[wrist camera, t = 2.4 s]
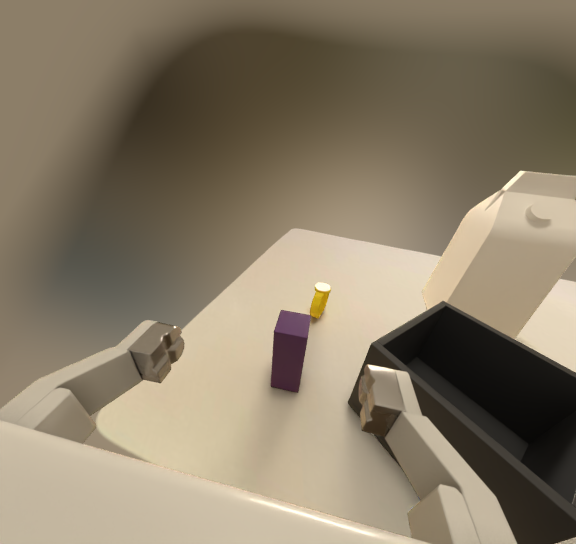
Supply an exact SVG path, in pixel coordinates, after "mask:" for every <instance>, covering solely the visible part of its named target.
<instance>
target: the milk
mask: <svg viewBox="0 0 576 544" xmlns="http://www.w3.org/2000/svg"><path fill="white" fill-rule="evenodd" d="M575 198H576V177H575V176H567V175H557V174H546V173H537V172H526V171H520V172H519V173H518V174H517V175H516V176H515V177H514V178H513V179H512V180H510V181H509V183H507V184H506V185H505V186H504V187H503V188H502V190H500V191H498V192H496V193H495V194H493V195H492V196H490V197H489V198H487V199H486V200H484V201H483V202H481V203H479V204H478V205H477V206H475V207H473V208H472V209H471V210H470V211H469V212H468V213H467V214H466V216H465V217H464V219H463V220H462V222H461V224H460V226H459V227H458V229H457V231H456V233H455V234H454V236H453V238H452V240H451V241H450V243H449V245H448V247H447V248H446V250H445V252H444V254H443V255H442V257H441V259H440V261H439V262H438V264H437V266H436V268H435V269H434V271H433V273H432V275H431V276H430V278H429V280H428V282H427V283H426V285H425V287H424V289H423V290H422V295H423V298H424V301H425V304H426V308H427V310H428V309H430V308H432V307H433V306H435V305H437V304H438V303H440V302H441V301H445V302H447V303H448V304H450V305H452V306H454V307H456V308H458V309H459V310H461V311H463V312H465V313H467V314H469V315H470V316H472V317H474V318H476V319H478V320H480V321H481V322H483V323H485V324H487V325H489V326H491V327H492V328H494V329H496V330H498V331H500V332H502V333H503V334H505V335H507V336H509V337H511V338H513V339H515V338H516V336H517V335H518V334H519V332H520V331H521V330H522V328H523V327H524V326H525V324H526V323H527V321H528V320H529V319H530V317H531V316H532V315H533V313H534V312H535V311H536V309H537V308H538V307H539V305H540V304H541V303H542V301H543V300H544V299H545V297H546V296H547V295H548V293H549V292H550V291H551V289H552V288H553V287H554V285H555V284H556V282H557V281H558V280H559V278H560V277H561V276H562V274H563V273H564V272H565V270H566V269H567V268H568V266H569V265H570V264H571V262H572V261H573V260H574V258H575V257H576V201H575V200H574V199H575Z"/></svg>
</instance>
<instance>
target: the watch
mask: <svg viewBox="0 0 576 544" xmlns="http://www.w3.org/2000/svg"><path fill="white" fill-rule="evenodd" d="M315 291H316V293H315V295H314V298H313V301H312V304H311V309H310V315H311V316H312V317H315V318H317V319H318V318H319V317H320V315H321V314H322V312H323V311H324V308H325V306H326V303H327V300H328V296H329V293H330V291H331V287H330V286H329V285H328V284H326V283H317V284H316V285H315Z"/></svg>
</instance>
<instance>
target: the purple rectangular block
mask: <svg viewBox="0 0 576 544" xmlns="http://www.w3.org/2000/svg"><path fill="white" fill-rule="evenodd" d="M310 318H311V315H306V314H301V313H295V312H290V311H285V310H281V312H280V315H279V318H278V321H277V324H276V327H275V330H274V341H273V358H272V375H271V387H275V388H279V389H284V390H288V391H293V392H297V393H298V391H299V385H300V379H301V374H302V368H303V362H304V356H305V350H306V345H307V339H308V332H309V325H310Z"/></svg>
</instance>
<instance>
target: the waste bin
mask: <svg viewBox="0 0 576 544" xmlns="http://www.w3.org/2000/svg"><path fill="white" fill-rule="evenodd" d="M367 364H369V365H375V366H380V367H385V368H391V369H394V370H399V371H404V372H407V373H408V374H409V376H410V379H411V382H412V385H413V388H414V392H415V395H416V398H417V401H418V404H419V407H420V410H421V413H422V416H425V417H427V418H428V419H429V420H430V421H431V422H432V424H433V425H434V426H435V427H436V428H437V429H438V430H439V432H440V433H441V434H442V435H443V436H444V437H445V439H446V440H447V441H448V442H449V443H450V444H451V445H452V447H453V448H454V449H455V450H456V451H457V452H458V454H459V455H460V456H461V457H462V458H463V459H464V460H465V462H466V463H467V464H468V465H469V466H470V467H471V469H472V470H473V471H474V472H475V473H476V474H477V475H478V477H479V478H480V479H481V480H482V481H483V482H484V484H485V485H486V486H487V487H488V488H489V489H490V490H491V492H492V493H493V494H494V495H495V496H496V498H497V500H498V502H499V504H500V507H501V509H502V511H503V513H504V515H505V518H506V520H507V522H508V524H509V526H510V529H511V531H512V533H513V535H514V538H515V540H516V542H517V544H555V543H558V542H561V541H565V540H568V539H571V538H574V537H576V373H575V372H573V371H571V370H570V369H568V368H566V367H564V366H562V365H560V364H559V363H557V362H555V361H553V360H551V359H549V358H548V357H546V356H544V355H542V354H540V353H538V352H537V351H535V350H533V349H531V348H529V347H527V346H526V345H524V344H522V343H520V342H518V341H516V340H514V339H513V338H511V337H509V336H507V335H505V334H503V333H502V332H500V331H498V330H496V329H494V328H492V327H491V326H489V325H487V324H485V323H483V322H481V321H480V320H478V319H476V318H474V317H472V316H470V315H469V314H467V313H465V312H463V311H461V310H459V309H458V308H456V307H454V306H452V305H450V304H448V303H447V302H445V301H441V302H440V303H438V304H437V305H435V306H433V307H432V308H430V309H428V310H427V311H425V312H423V313H422V314H420V315H418V316H417V317H415V318H413V319H412V320H410V321H408V322H407V323H405V324H403V325H402V326H400V327H398V328H396V329H395V330H393V331H391V332H390V333H388V334H386V335H385V336H383V337H381V338H380V339H378V340H376V341H375V342H373V343H371V345H370V348H369V350H368V353H367V356H366V358H365V361H364V363H363V366H362V368H361V371H360V373H359V376H358V378H357V381H356V384H355V386H354V389H353V391H352V394H351V396H350V399H349V401H348V404H349V405H350V406H351V407H352V408H353V410H354V411H355V412H356V413H357V414H358V416H359V417H360V411H361V409H362V404H361V403H360V401H359V394H358V389H359V382H360V379H361V376H363V375H365V374H364V368H365V366H366V365H367ZM360 418H361V417H360ZM374 435H375V436H376V437H377V439H378V440H379V441H380V442H381V443H382V445H383V446H384V447H385V448H386V450H387V451H388V452H389V453H390V454H391V456H392V457H393V458H394V459H395V460H396V462H397V463H398V464H399V462H398V460H397V459H396V457H395V455H394V453H393V452H392V450H391V448H390V446H389V445H388V443H387V441H386V439H385V437H384V436H380V435H376V434H374ZM399 465H400V464H399ZM401 468H402V467H401Z"/></svg>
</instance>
